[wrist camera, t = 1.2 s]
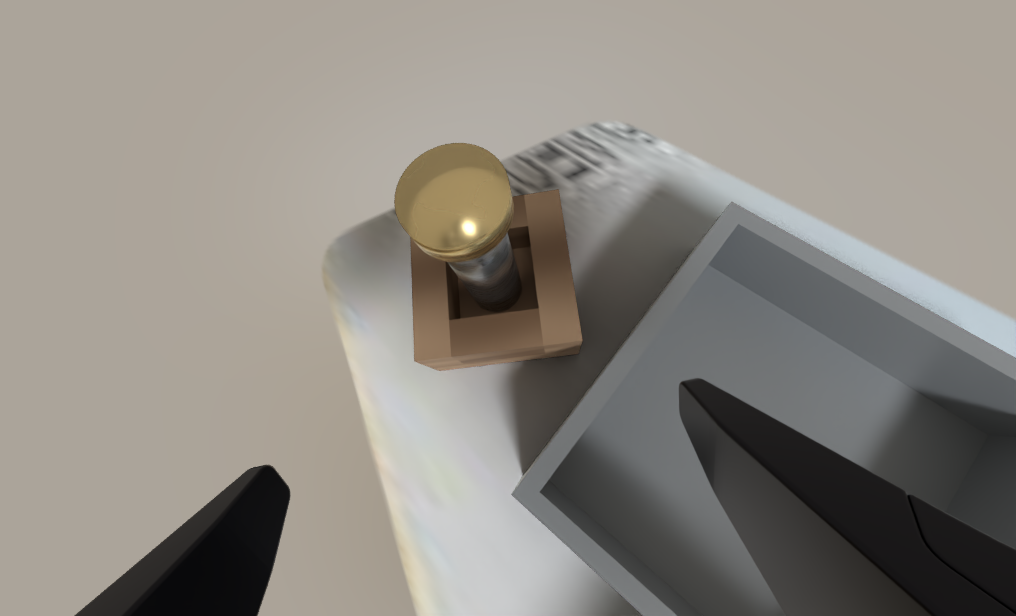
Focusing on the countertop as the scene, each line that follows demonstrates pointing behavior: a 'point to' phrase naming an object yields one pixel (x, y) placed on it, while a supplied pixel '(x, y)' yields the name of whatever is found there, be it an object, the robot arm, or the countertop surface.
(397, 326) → the countertop surface
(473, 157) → the pin
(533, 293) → the socket block
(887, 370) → the tray
